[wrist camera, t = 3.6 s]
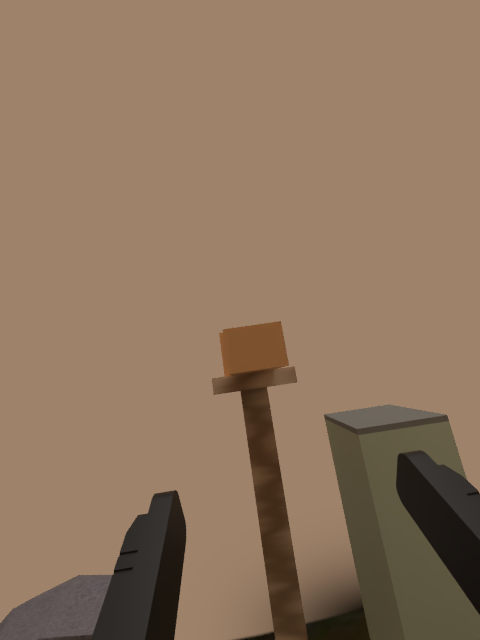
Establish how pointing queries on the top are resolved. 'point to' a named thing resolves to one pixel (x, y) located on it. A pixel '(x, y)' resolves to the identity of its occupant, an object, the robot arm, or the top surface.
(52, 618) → the soft grey pack
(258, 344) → the orange wooden block
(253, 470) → the tan table
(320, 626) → the top surface
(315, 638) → the top surface
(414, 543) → the tall grey-green pillar
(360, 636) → the top surface
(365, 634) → the top surface
